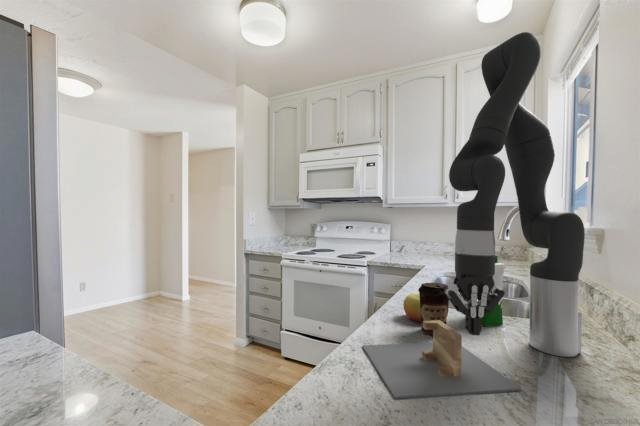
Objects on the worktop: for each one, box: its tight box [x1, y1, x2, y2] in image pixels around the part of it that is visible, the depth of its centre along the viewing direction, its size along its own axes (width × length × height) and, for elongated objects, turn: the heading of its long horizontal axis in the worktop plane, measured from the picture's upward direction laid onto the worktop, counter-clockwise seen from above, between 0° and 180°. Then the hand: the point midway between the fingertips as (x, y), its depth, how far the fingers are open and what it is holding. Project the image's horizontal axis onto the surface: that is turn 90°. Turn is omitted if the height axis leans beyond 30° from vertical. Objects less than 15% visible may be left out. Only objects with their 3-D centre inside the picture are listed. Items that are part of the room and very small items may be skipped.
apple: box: [403, 293, 421, 323], centre depth 90 cm, size 10×10×8 cm
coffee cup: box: [418, 282, 450, 336], centre depth 80 cm, size 9×8×13 cm
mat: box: [362, 342, 522, 400], centre depth 62 cm, size 24×20×1 cm
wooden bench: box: [422, 320, 463, 377], centre depth 61 cm, size 4×8×8 cm, turn 8°
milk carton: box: [482, 254, 506, 327], centre depth 90 cm, size 9×9×20 cm
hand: (473, 333), depth 62 cm, fingers closed
